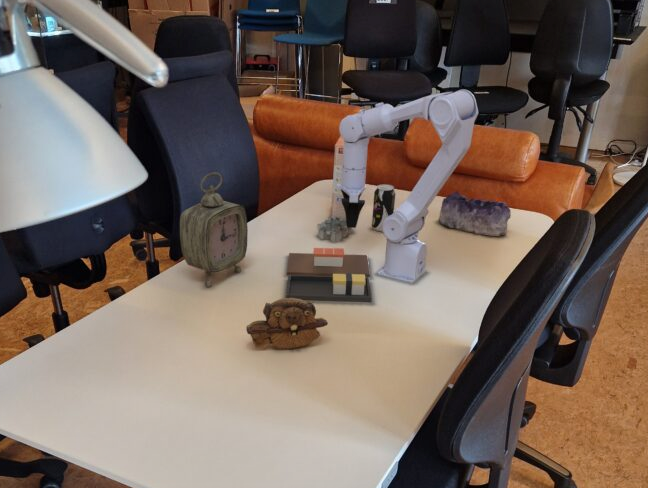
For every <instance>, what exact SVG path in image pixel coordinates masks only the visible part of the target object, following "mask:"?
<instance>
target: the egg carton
mask: <svg viewBox="0 0 648 488" xmlns="http://www.w3.org/2000/svg"><path fill="white" fill-rule="evenodd" d="M316 230H318V231H317V233H318V234H317V237H319V239H320V240H331V242H333V243H334V242H341V241H342V240H343V238H346V237H347V235H348V234H352V233H353V228H347V224H346V219H345V218H341V217H337V216H335V215H332V216H331V215H330V217H329V218H326V219H324V221H322V222H320V223H317V224H316Z"/></svg>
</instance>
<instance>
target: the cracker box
mask: <svg viewBox="0 0 648 488" xmlns="http://www.w3.org/2000/svg"><path fill="white" fill-rule="evenodd" d="M343 145H344V139H343V138H342V136H341V135H340V136H339V138H338V139H337V141H336V143H335V144H334V155H333V157H334V158H333V174H332V175H333V176H332V192H331V193H332V194H331V207H330V208H331V210H330V217H331V216H332V215H335V216H337V217H341V218H345V219H346V214H345V210H344V207H343V205H342V202H341V198H344V197H343V194H342V191H341V189H337V184H341V183H342V165H343Z"/></svg>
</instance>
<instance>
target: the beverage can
mask: <svg viewBox="0 0 648 488" xmlns="http://www.w3.org/2000/svg"><path fill="white" fill-rule="evenodd" d="M394 188H395V186H393V185H392V184H385V183H384V184H377V186H376V189H375V190H374V192H373V205H372V217H371V228H372V229H374V231H376V232H379V233H380V232H381V233H383V230H382V224H383V221H384V220H385V218H386V217H388V216H390V215H392V214H393V213H394V211H395V203H396V191H395V189H394Z"/></svg>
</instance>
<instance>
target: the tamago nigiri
mask: <svg viewBox="0 0 648 488" xmlns="http://www.w3.org/2000/svg"><path fill="white" fill-rule="evenodd" d="M365 283H366V281H365V275H364V274H351V273H346V274H333V294H345V295H364V285H365Z"/></svg>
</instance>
